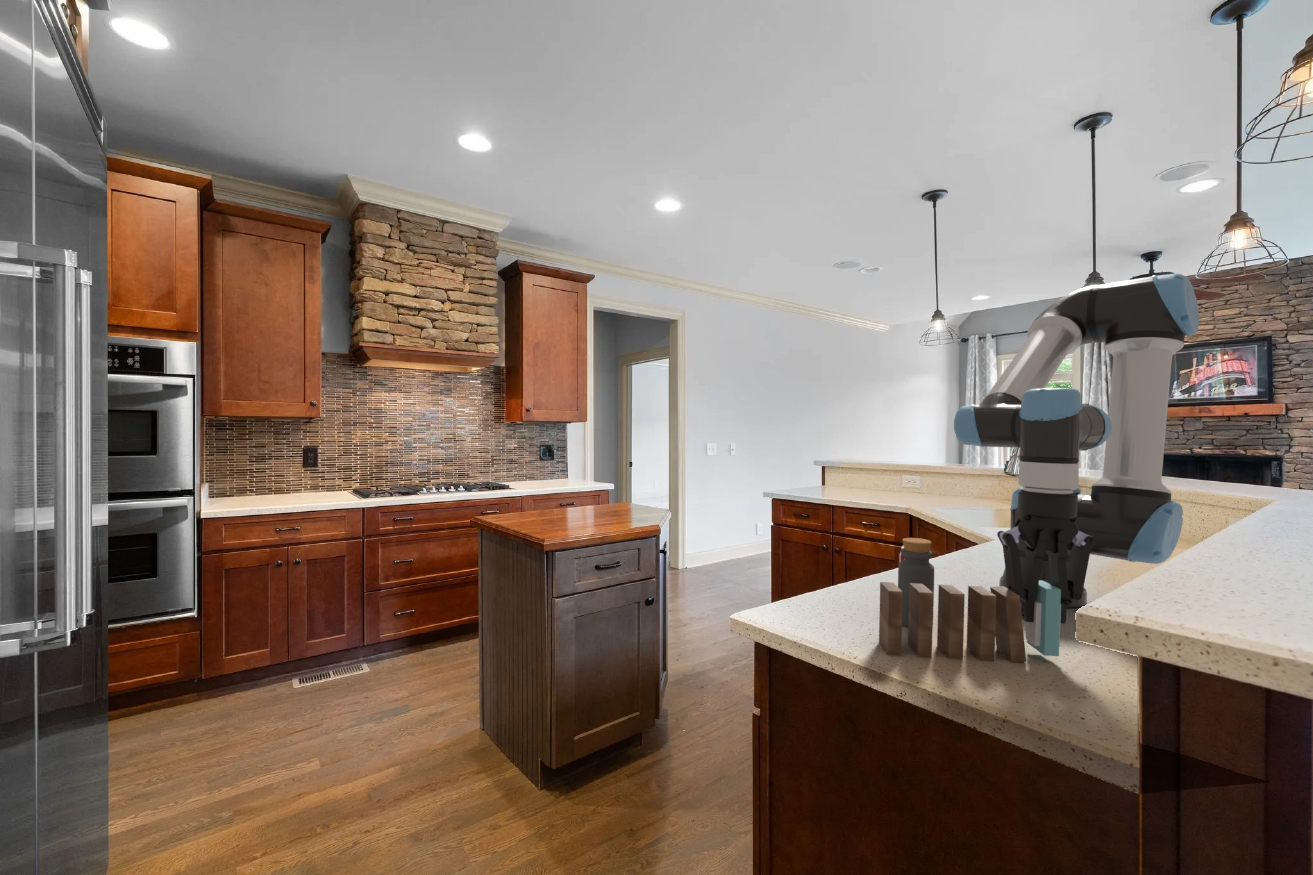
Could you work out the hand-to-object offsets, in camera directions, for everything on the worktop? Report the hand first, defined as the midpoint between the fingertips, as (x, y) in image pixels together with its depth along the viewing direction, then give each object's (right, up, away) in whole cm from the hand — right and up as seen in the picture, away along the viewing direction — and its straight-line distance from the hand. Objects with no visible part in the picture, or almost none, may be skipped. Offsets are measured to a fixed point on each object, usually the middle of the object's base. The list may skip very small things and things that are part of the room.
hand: (1042, 642), depth 88 cm
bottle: (-13, -2, +14) cm, 20 cm away
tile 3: (-9, -2, +1) cm, 9 cm away
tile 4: (-13, -2, +2) cm, 14 cm away
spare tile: (0, -1, 0) cm, 1 cm away
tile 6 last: (-22, -2, +3) cm, 23 cm away
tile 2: (-4, -2, +1) cm, 5 cm away
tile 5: (-18, -2, +2) cm, 18 cm away
